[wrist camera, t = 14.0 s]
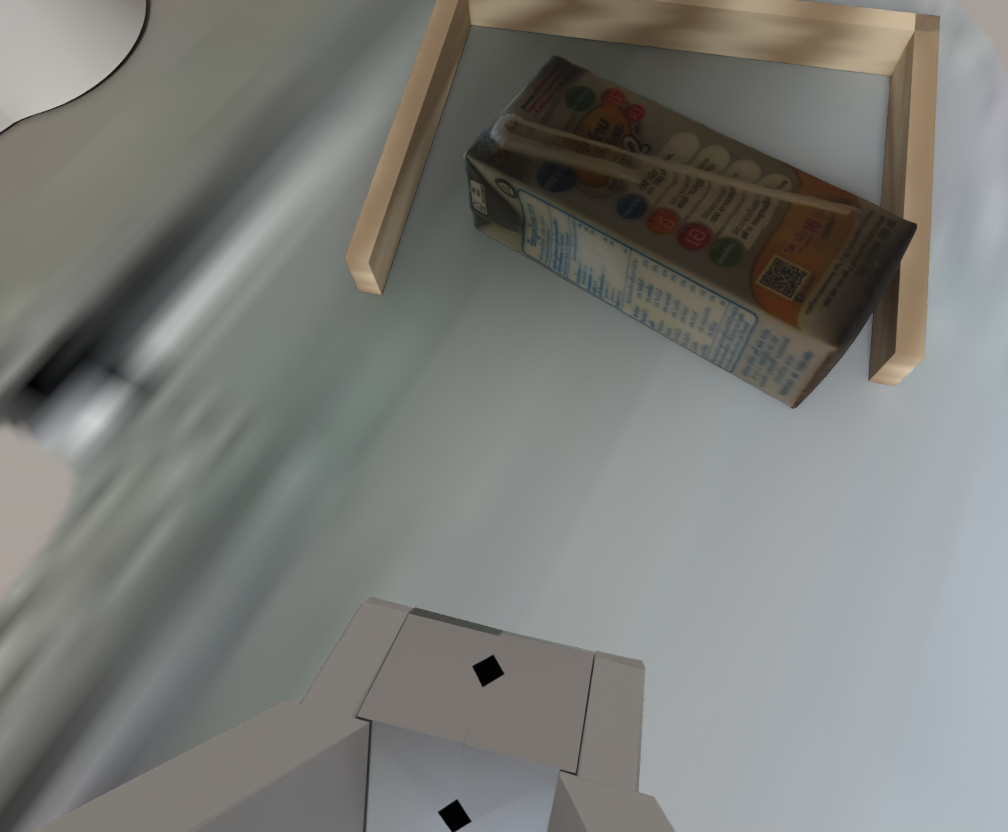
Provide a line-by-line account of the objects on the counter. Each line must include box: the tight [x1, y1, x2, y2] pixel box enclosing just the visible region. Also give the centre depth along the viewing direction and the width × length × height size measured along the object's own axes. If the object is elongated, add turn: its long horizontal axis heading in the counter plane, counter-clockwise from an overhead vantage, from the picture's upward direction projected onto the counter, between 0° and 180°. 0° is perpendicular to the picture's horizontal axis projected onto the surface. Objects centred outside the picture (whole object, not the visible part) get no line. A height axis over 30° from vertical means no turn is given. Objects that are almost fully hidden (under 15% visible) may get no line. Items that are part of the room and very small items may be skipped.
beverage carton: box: [463, 55, 917, 409], centre depth 36 cm, size 8×19×7 cm, turn 54°
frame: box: [344, 0, 940, 386], centre depth 39 cm, size 26×20×3 cm
